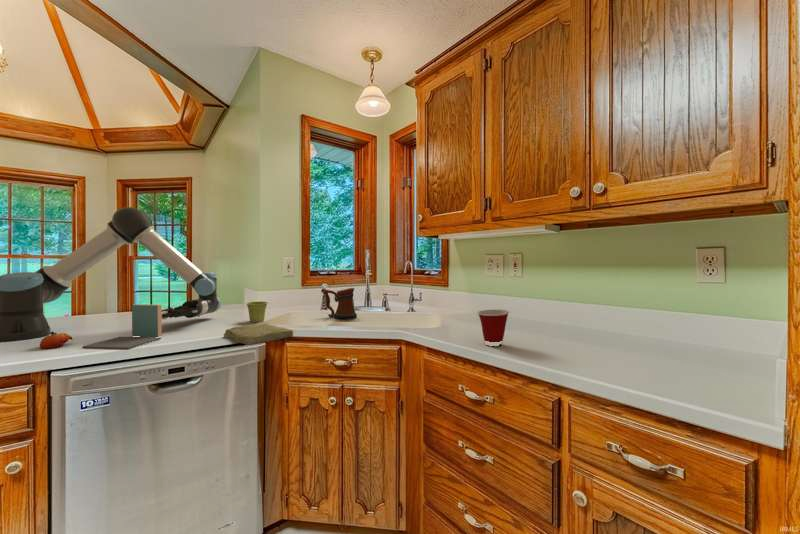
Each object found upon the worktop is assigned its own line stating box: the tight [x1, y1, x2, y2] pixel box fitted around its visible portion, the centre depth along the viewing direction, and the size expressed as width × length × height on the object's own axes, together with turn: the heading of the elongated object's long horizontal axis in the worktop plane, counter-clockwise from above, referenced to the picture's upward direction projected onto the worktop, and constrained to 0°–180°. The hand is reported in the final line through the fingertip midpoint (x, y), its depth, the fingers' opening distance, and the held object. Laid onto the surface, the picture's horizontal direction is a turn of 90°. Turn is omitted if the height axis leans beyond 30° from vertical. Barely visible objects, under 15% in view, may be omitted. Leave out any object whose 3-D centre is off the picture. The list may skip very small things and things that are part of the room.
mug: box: [320, 287, 358, 320], centre depth 176 cm, size 18×12×15 cm, turn 85°
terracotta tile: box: [131, 304, 163, 338], centre depth 131 cm, size 10×2×12 cm, turn 85°
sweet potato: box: [39, 330, 74, 350], centre depth 117 cm, size 8×7×7 cm
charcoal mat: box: [82, 336, 162, 350], centre depth 121 cm, size 16×14×1 cm
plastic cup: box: [477, 308, 510, 342], centre depth 123 cm, size 11×11×12 cm
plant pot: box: [245, 301, 269, 323], centre depth 164 cm, size 9×9×9 cm
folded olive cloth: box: [223, 323, 294, 346], centre depth 133 cm, size 19×20×4 cm
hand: (153, 317), depth 134 cm, fingers closed
